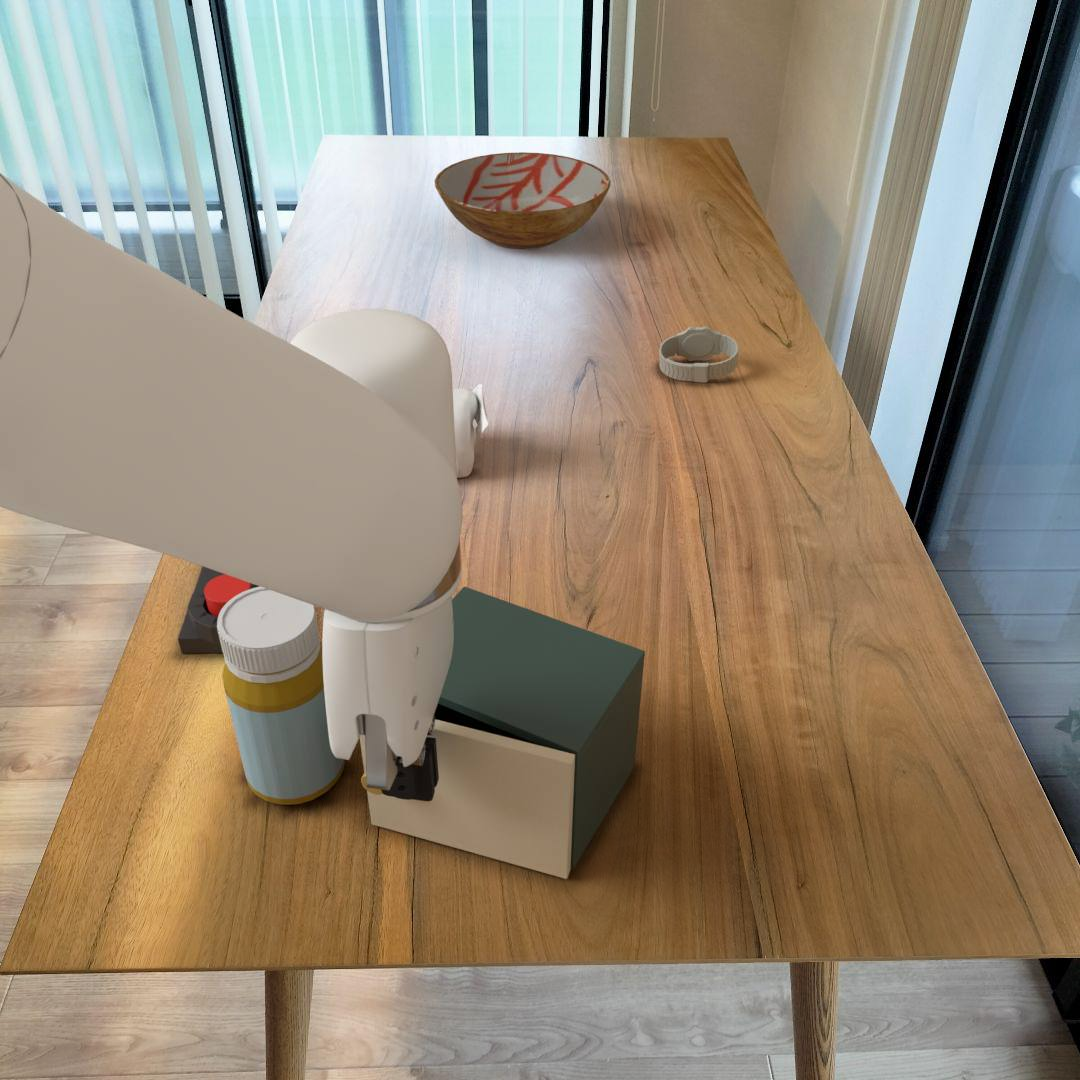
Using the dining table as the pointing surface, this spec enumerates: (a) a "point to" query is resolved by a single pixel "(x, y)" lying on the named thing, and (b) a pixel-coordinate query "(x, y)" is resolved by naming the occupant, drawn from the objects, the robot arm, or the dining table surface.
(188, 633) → the switch
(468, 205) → the bowl
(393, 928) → the dining table surface
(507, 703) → the cupboard
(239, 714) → the bottle
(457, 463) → the elephant figurine
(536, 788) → the door
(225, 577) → the button
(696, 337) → the wristwatch
